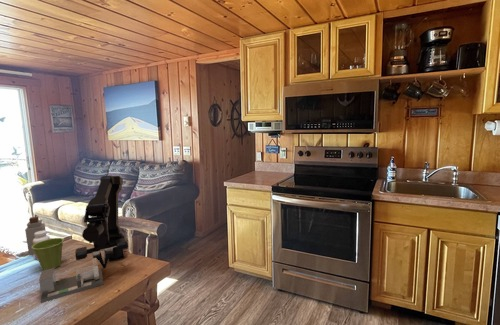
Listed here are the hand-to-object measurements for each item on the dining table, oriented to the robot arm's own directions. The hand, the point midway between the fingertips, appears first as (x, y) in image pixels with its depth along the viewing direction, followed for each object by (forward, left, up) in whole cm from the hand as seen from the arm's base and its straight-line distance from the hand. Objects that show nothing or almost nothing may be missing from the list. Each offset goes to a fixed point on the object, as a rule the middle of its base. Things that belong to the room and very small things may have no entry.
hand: (104, 268), depth 117 cm
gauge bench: (+11, +1, -4) cm, 12 cm away
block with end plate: (+6, +1, -2) cm, 7 cm away
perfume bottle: (+27, -48, -4) cm, 55 cm away
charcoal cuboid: (+9, +6, -2) cm, 11 cm away
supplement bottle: (+24, -38, -4) cm, 45 cm away
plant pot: (+20, -24, -4) cm, 32 cm away
